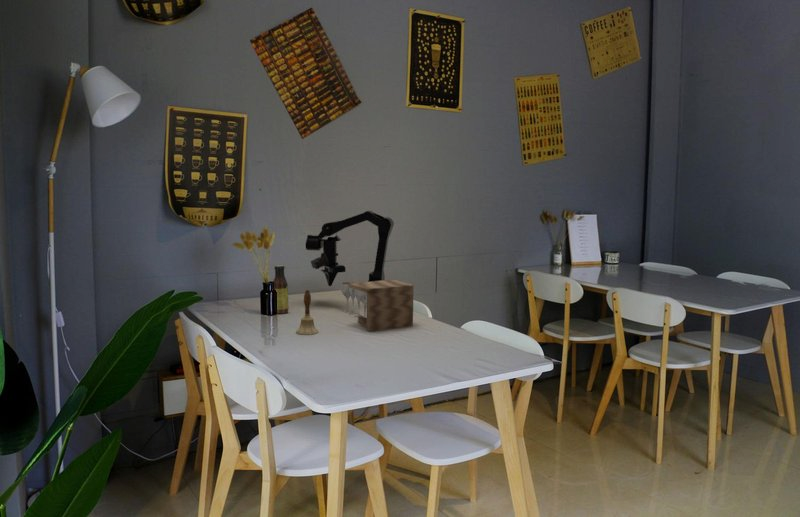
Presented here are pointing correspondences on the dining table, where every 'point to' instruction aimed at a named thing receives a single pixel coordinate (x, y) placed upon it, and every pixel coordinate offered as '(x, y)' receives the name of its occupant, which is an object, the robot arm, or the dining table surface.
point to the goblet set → (353, 292)
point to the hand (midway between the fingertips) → (329, 285)
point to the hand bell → (307, 318)
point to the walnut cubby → (386, 304)
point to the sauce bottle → (281, 289)
